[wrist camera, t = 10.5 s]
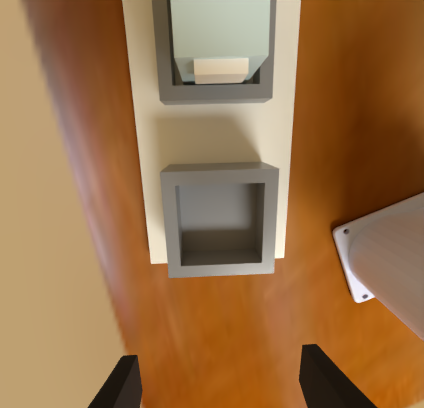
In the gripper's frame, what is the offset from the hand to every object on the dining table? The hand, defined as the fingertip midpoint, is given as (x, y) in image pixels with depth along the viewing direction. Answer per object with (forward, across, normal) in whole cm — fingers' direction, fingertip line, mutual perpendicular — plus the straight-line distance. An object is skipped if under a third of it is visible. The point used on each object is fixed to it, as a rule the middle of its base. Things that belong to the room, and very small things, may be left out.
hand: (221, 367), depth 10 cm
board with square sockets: (+10, 0, -10) cm, 14 cm away
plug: (+9, 0, -15) cm, 18 cm away
